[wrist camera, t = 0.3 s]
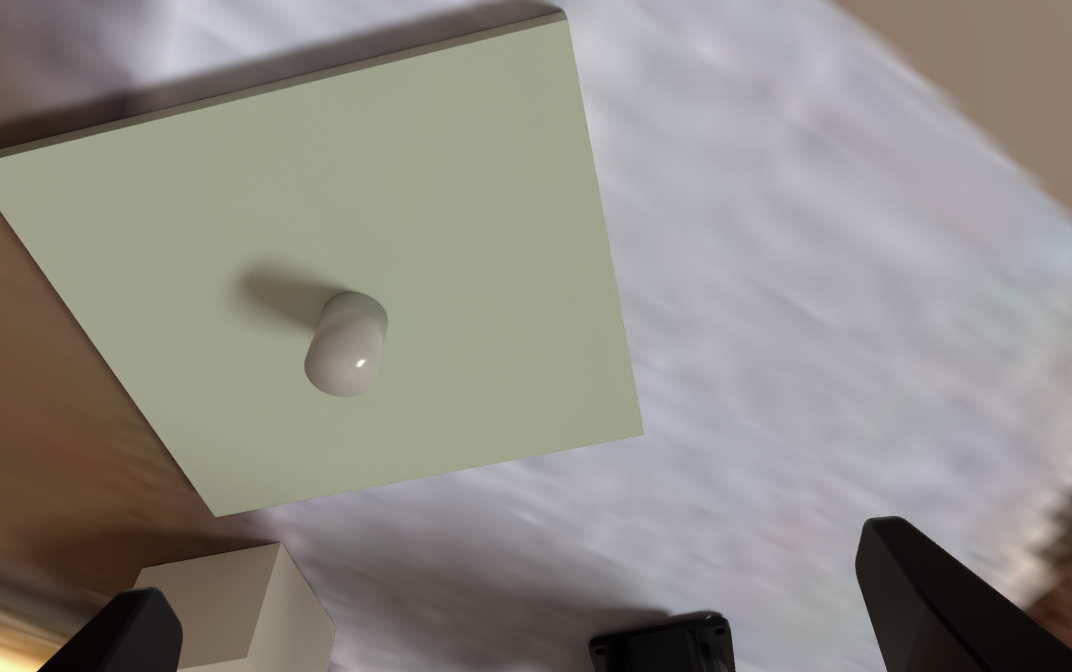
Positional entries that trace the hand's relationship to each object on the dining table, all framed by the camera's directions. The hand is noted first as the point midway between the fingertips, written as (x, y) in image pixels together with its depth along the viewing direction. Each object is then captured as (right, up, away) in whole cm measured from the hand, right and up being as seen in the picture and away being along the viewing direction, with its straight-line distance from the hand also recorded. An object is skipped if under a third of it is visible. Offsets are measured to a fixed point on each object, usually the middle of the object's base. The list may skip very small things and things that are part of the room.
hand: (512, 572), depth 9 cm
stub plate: (-5, +4, +14) cm, 16 cm away
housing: (-12, -8, +22) cm, 27 cm away
